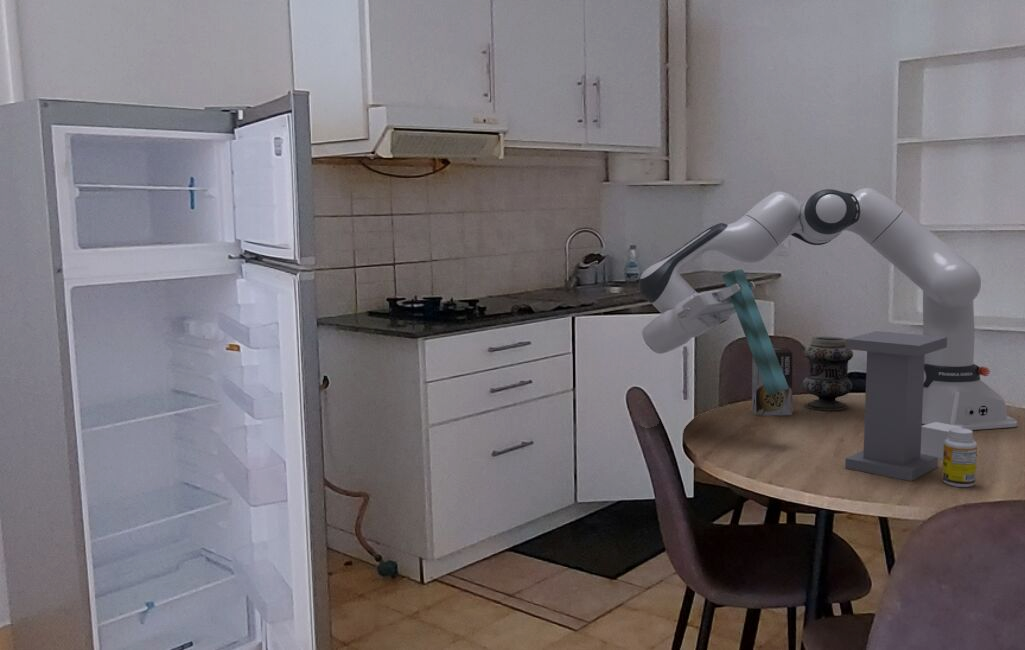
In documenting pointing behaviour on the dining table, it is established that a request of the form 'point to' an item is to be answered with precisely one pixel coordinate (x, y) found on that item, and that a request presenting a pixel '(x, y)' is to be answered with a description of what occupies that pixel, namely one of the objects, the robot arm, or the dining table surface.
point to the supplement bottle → (959, 458)
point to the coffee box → (778, 401)
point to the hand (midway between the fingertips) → (746, 285)
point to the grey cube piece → (934, 438)
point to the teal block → (756, 334)
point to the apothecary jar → (828, 372)
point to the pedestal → (894, 404)
